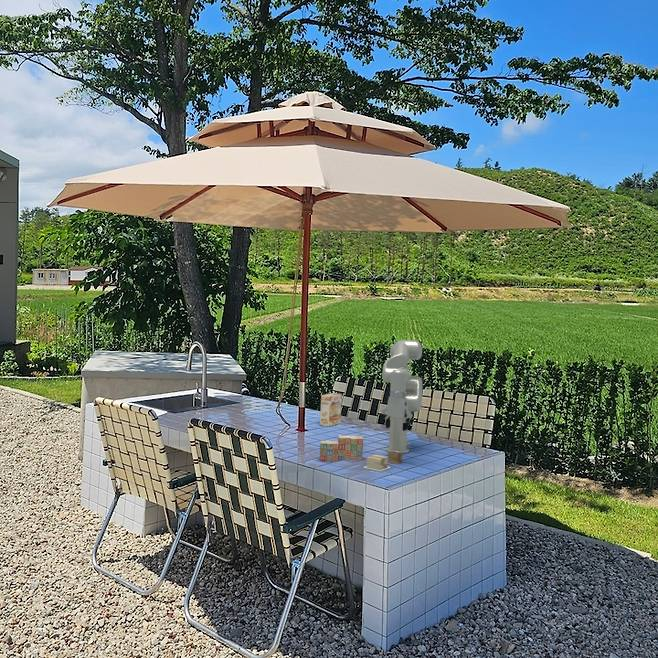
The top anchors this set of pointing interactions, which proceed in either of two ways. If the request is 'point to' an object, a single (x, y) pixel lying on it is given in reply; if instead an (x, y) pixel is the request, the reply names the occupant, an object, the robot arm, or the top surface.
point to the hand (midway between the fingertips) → (396, 429)
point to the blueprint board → (376, 469)
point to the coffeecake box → (330, 409)
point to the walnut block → (394, 457)
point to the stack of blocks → (342, 449)
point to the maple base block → (377, 462)
